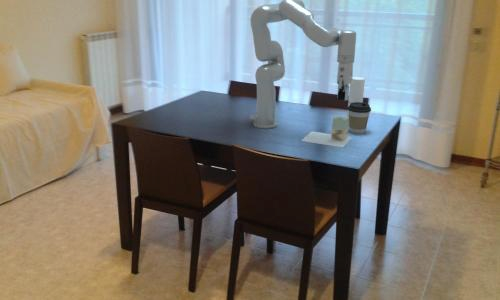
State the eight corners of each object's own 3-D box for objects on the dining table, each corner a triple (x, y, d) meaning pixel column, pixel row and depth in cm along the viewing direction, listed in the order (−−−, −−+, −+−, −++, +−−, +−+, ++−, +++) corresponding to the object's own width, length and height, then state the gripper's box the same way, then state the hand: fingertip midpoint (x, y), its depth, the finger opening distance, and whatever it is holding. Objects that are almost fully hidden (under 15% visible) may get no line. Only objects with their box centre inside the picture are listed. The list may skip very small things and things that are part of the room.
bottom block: (331, 139, 227) (332, 128, 225) (334, 135, 232) (335, 125, 230) (343, 140, 225) (344, 130, 223) (347, 137, 230) (348, 127, 228)
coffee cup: (369, 138, 234) (372, 108, 228) (345, 136, 235) (347, 106, 230) (368, 131, 244) (371, 102, 239) (345, 129, 246) (347, 101, 241)
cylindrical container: (351, 122, 258) (355, 76, 249) (363, 125, 253) (367, 78, 244) (343, 125, 253) (347, 78, 244) (355, 128, 248) (359, 80, 239)
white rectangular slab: (300, 143, 225) (300, 140, 224) (311, 134, 238) (311, 131, 238) (342, 150, 217) (343, 147, 216) (351, 140, 230) (351, 137, 230)
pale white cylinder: (336, 99, 221) (336, 86, 219) (338, 97, 225) (339, 84, 223) (346, 100, 219) (347, 87, 217) (349, 98, 223) (350, 85, 221)
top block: (332, 128, 225) (332, 118, 224) (335, 125, 230) (336, 115, 229) (344, 130, 223) (345, 120, 221) (348, 127, 228) (348, 117, 226)
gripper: (349, 62, 207) (346, 103, 213) (358, 56, 221) (355, 95, 228) (332, 60, 210) (329, 101, 216) (342, 55, 224) (339, 93, 230)
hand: (342, 98), depth 222 cm, fingers closed on pale white cylinder, 4 cm apart
